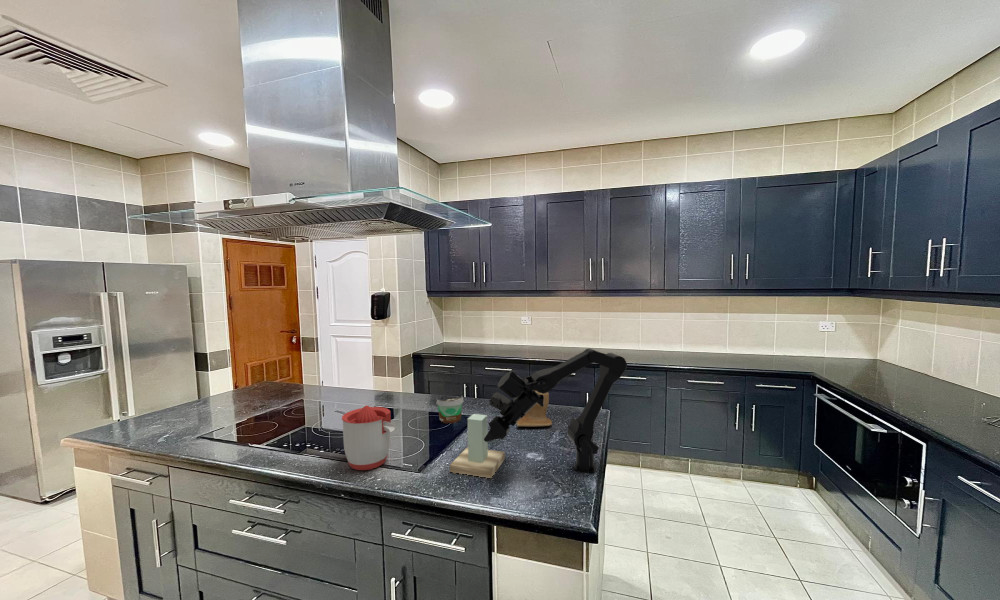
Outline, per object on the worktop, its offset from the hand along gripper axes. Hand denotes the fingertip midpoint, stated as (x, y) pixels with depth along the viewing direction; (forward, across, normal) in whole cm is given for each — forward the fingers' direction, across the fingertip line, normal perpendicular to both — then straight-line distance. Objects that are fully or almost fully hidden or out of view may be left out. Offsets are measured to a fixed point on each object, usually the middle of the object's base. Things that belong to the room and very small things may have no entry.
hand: (489, 435), depth 126 cm
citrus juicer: (+36, +9, -21) cm, 43 cm away
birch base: (+11, 0, +5) cm, 12 cm away
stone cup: (+5, -41, +11) cm, 43 cm away
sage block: (+9, 0, +3) cm, 9 cm away
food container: (+29, -34, -14) cm, 47 cm away
